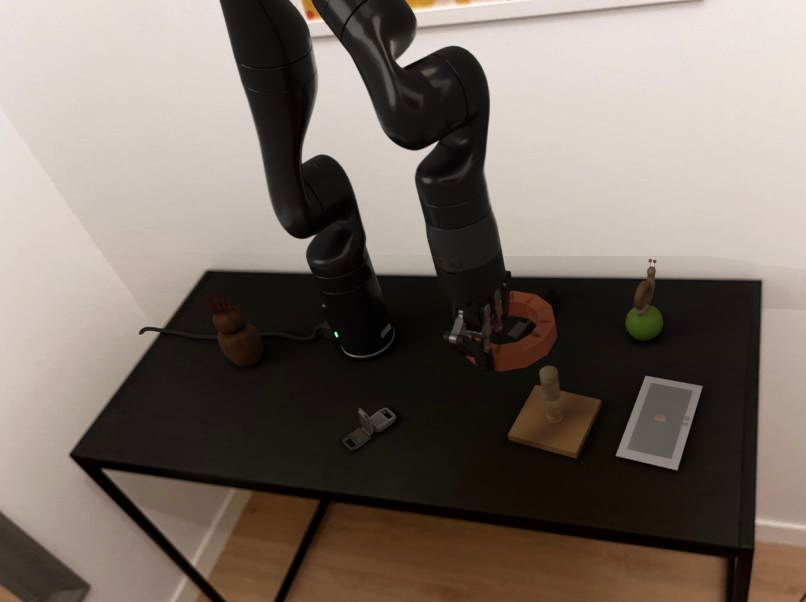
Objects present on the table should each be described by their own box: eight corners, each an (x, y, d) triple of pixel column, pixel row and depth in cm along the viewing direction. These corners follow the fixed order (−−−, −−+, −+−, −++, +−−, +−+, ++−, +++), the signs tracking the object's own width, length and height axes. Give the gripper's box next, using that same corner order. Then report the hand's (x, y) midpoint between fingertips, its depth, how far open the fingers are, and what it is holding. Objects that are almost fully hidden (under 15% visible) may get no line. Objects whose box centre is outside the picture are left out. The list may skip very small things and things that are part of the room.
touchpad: (615, 460, 93) (615, 450, 92) (645, 381, 102) (645, 370, 101) (677, 475, 90) (677, 465, 88) (702, 391, 99) (703, 380, 97)
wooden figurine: (225, 368, 123) (186, 302, 113) (243, 345, 126) (207, 279, 116) (256, 373, 120) (220, 306, 110) (274, 350, 124) (240, 283, 114)
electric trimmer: (564, 304, 118) (562, 289, 116) (513, 362, 110) (510, 347, 108) (544, 298, 120) (543, 283, 118) (493, 355, 112) (490, 340, 110)
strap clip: (387, 409, 108) (380, 390, 105) (398, 419, 106) (391, 400, 103) (341, 442, 105) (332, 423, 102) (352, 452, 103) (343, 434, 100)
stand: (508, 440, 99) (498, 390, 92) (536, 390, 105) (528, 339, 98) (576, 458, 95) (571, 408, 88) (601, 405, 101) (598, 353, 94)
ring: (446, 359, 90) (441, 344, 88) (486, 300, 97) (483, 285, 95) (533, 379, 84) (530, 363, 82) (570, 315, 91) (568, 299, 89)
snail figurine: (670, 324, 110) (671, 261, 101) (655, 351, 106) (655, 288, 98) (636, 316, 112) (635, 255, 104) (620, 342, 109) (618, 281, 101)
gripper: (464, 208, 82) (488, 321, 93) (403, 281, 74) (438, 395, 85) (523, 214, 78) (541, 331, 90) (467, 291, 70) (494, 409, 82)
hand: (491, 362), depth 87 cm, fingers closed on ring, 2 cm apart
